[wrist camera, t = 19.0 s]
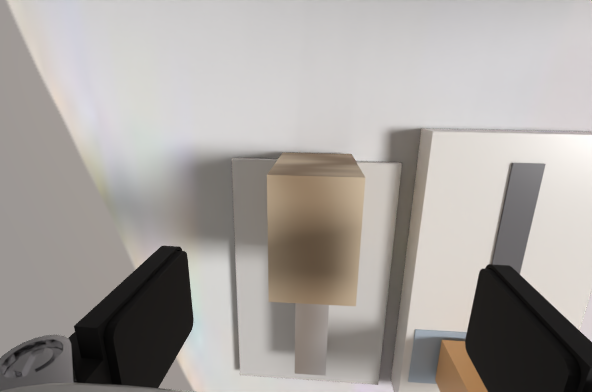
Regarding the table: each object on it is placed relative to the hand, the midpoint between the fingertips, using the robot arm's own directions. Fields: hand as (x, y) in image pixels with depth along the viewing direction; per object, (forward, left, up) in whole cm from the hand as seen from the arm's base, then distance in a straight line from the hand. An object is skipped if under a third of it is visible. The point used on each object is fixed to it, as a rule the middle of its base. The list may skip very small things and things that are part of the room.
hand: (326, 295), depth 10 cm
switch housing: (-10, +4, -10) cm, 15 cm away
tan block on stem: (0, +4, -10) cm, 11 cm away
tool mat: (+1, +5, -10) cm, 12 cm away
